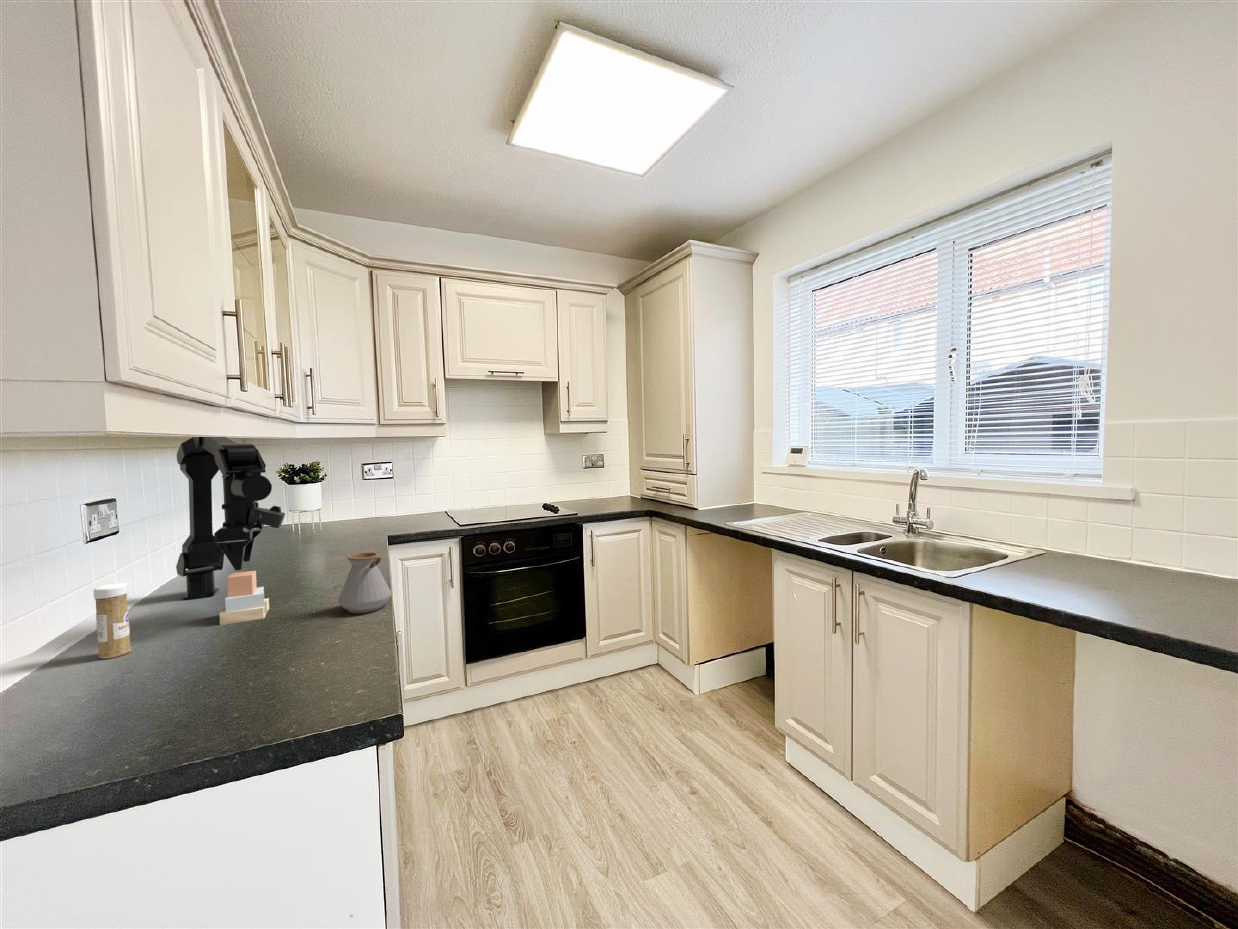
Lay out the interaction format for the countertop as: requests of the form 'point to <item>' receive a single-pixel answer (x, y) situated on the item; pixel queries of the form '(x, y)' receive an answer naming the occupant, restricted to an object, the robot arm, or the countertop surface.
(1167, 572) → the countertop surface
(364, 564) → the coffee pot
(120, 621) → the sprinkles bottle
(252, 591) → the terracotta cube
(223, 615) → the oak base slab
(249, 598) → the grey-blue top slab
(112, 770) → the countertop surface
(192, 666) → the countertop surface
